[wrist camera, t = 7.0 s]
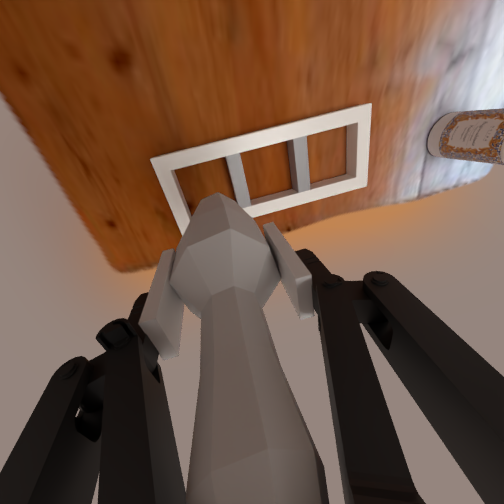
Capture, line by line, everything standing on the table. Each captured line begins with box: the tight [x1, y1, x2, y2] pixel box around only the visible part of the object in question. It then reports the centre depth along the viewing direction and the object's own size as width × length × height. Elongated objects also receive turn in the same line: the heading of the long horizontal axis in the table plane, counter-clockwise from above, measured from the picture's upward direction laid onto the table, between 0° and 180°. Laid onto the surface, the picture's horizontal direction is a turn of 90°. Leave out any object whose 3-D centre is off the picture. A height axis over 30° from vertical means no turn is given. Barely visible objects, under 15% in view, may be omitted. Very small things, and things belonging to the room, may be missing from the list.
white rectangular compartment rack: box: [150, 103, 372, 236], centre depth 35 cm, size 32×12×3 cm, turn 102°
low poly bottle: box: [169, 192, 329, 504], centre depth 13 cm, size 6×6×22 cm
